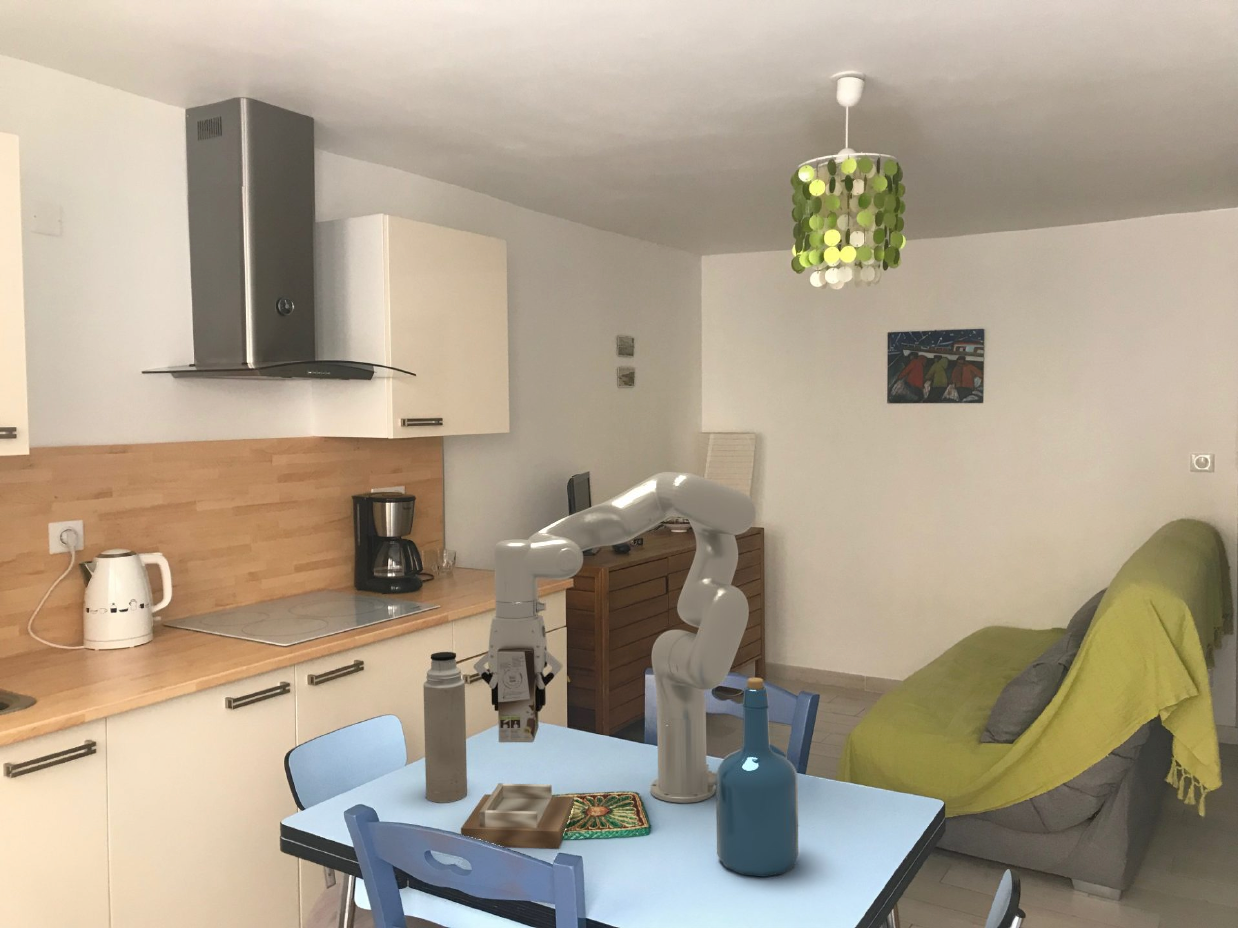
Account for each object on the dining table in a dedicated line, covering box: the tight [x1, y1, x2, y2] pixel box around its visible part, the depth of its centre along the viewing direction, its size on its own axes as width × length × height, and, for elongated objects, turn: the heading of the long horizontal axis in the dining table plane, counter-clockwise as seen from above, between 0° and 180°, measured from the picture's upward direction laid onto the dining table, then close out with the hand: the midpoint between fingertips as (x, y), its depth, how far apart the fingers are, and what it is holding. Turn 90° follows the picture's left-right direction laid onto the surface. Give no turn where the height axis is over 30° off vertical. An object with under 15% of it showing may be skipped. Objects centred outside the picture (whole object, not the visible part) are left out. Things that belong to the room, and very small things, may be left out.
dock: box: [460, 783, 575, 850], centre depth 175 cm, size 17×16×6 cm
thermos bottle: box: [422, 651, 468, 804], centre depth 192 cm, size 8×8×28 cm
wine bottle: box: [715, 677, 799, 877], centre depth 160 cm, size 14×13×30 cm
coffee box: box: [497, 648, 540, 743], centre depth 174 cm, size 9×6×16 cm
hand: (518, 708), depth 174 cm, fingers closed on coffee box, 6 cm apart
